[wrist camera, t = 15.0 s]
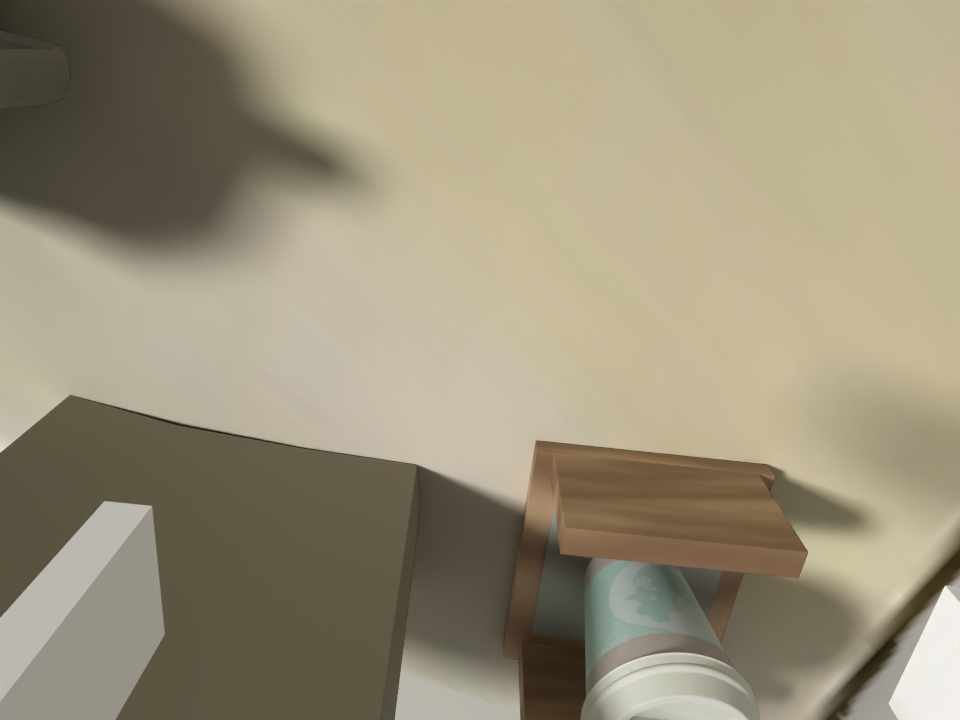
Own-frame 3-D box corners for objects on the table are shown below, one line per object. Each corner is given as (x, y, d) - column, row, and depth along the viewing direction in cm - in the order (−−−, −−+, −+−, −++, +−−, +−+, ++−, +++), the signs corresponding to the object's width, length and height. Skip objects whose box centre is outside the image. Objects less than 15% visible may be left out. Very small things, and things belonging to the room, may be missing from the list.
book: (430, 461, 42) (360, 1079, 17) (403, 578, 46) (314, 1232, 20) (70, 395, 40) (-634, 979, 15) (72, 522, 44) (-489, 1169, 18)
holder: (535, 440, 41) (544, 525, 33) (767, 464, 41) (828, 554, 34) (503, 644, 47) (504, 754, 40) (704, 663, 48) (743, 776, 40)
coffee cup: (729, 565, 42) (811, 741, 31) (637, 649, 45) (683, 837, 34) (623, 496, 41) (671, 657, 30) (534, 587, 43) (548, 765, 32)
